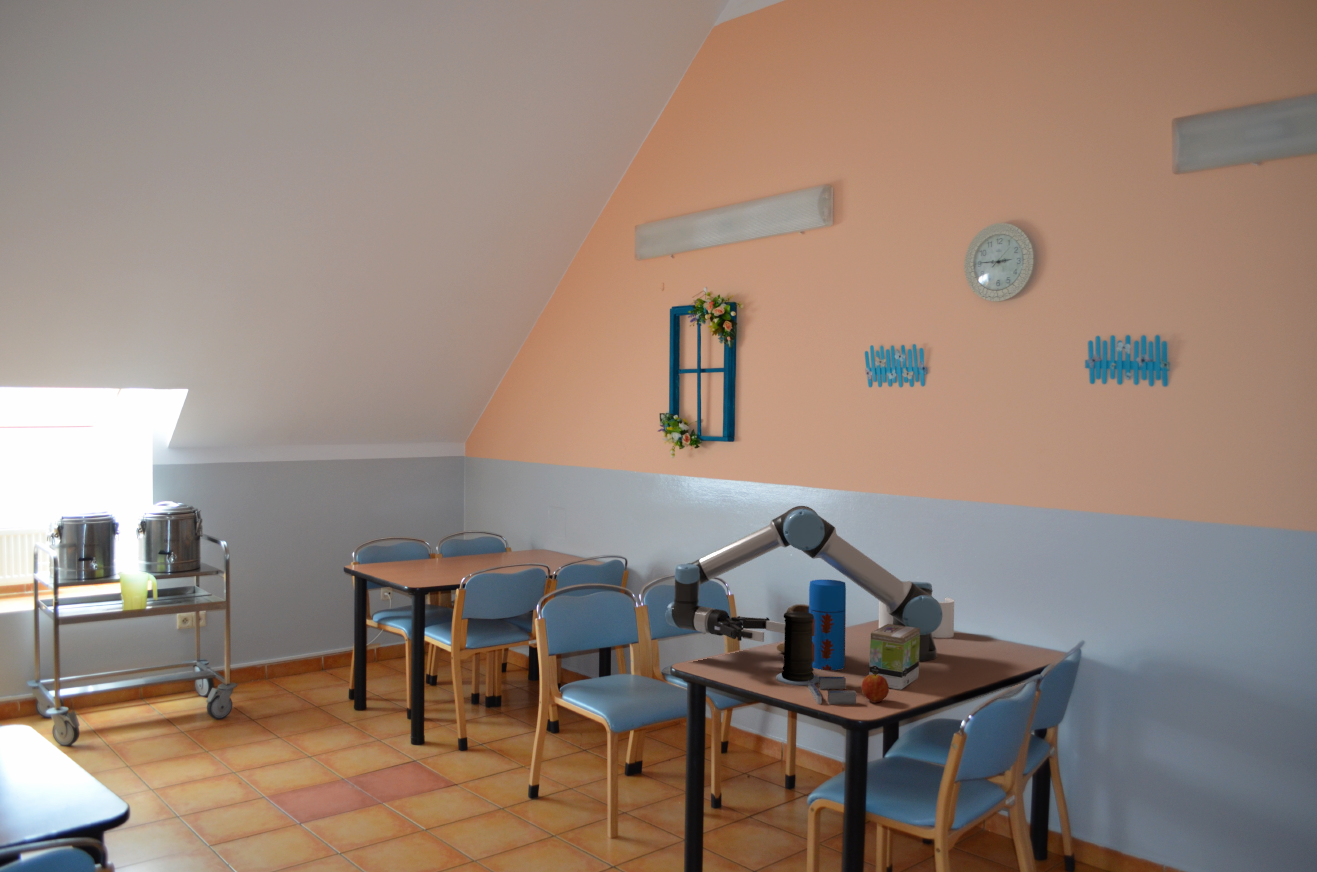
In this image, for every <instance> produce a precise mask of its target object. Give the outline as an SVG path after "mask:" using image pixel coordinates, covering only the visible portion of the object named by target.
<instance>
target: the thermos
mask: <svg viewBox="0 0 1317 872" xmlns="http://www.w3.org/2000/svg"><path fill="white" fill-rule="evenodd" d="M808 588H809V589H808V605H809V613H811V614H813V616H814V619H813V620H812V621H813V623H812V629H813V631H812V658H813V660H812V667H813V669H816V670H820V669H821V671H839V670H838V669H840V670H843V669H844V668H845V661H846V618H847V617H846V611H847V610H846V607H847V606H846V605H847V602H846V601H847V592H846V591H847V586H846V582H845V581H842V580H836V579H813V580H810V582H809V587H808ZM842 668H843V669H842Z"/></svg>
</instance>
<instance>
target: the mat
mask: <svg viewBox="0 0 1317 872" xmlns="http://www.w3.org/2000/svg"><path fill="white" fill-rule="evenodd" d="M813 674H814V673H813ZM776 680H777V682H779V683H783V684H785V685H790V686H803V687H805V686H808V681H790V680H786V679H784V678H783V677H782V672H780V673H778V674H777V675H776ZM812 681H813V683H814V685H816V684H819V676H818V675H816V674H814V677H813V679H812Z"/></svg>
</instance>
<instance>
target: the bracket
mask: <svg viewBox="0 0 1317 872" xmlns="http://www.w3.org/2000/svg"><path fill="white" fill-rule="evenodd" d="M944 599H945V601H938V602H939V604H940V606H941V609H942V615H943V616H942V621H941V624H940V625H939V627H938V628H937V629H936V630H935V631H934V632H932V636H933V638H934V637H936V639H949V638H953V637H954V636H955V634H954V630H955V600H954V599H952V598H950V597H945V598H944ZM887 624H893V616H892V615H890V614H889V613H888V612H887V609H886V605H885V604H884V603H882V602H881V601H879V600H878V629H879V628H881V627H883V626H885V625H887Z"/></svg>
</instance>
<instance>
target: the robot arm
mask: <svg viewBox="0 0 1317 872" xmlns="http://www.w3.org/2000/svg"><path fill="white" fill-rule="evenodd" d="M836 529H837V528H836V526H834V525H833V524H831V523H830V522H829V521H827V520H826V519H824V518H823V517H822V516H820V515H819V514H818V513H817V512H816V511H815V510H814V509H813V508H811V507H809V506H807V505H806V506H805V505H797V506H794V507H792V508H790V509H788V510H787V511H786V512H784V513H782V514H780V515H779V516H777V517H775V518H773V519H771V521H770V523H769V524H768V525H766V526H764V527H761V528H760V529H758V530H755V531H754V532H752V533H750V534H748V535H746V536H744V537H742V538H739V539H738V540H735V541H733V542H731V543H729V544H727V545H725V546H723V547H721V548H719V549H717V550H715V551H713V552H711V553H708V554H707V555H705V556H703V557H701V558H699V559H696V560H694V561H692V562H689V563H681V564H677V565H676V566H675V571H674V598H673V601H671V602H670V603H668V605H667V607H666V611H665V613H664V616H665V621H666V623H667V624H668V625H669V626H672V627H674V628H678V629H685V630H688V631H695V632H700V633H702V635H706V634H710V635H713V636H714V635H715V636H719V637H721V636H726V637H728V638H730V639H732V640H737V641H739V642H741V641H742V639H745V640H748V641H749V640H750V641H755V642H761V643H763V642H765V631H770V632H775V633H781V634H785V630H784V628H785V622H784V623H783V622H779V621H772V620H770V618H769V617H765V618H763V617H762V618H761V617H759V618H758V617H746V616H741V615H740V616H739V615H738V616H731V617H730V615H729V613H728V612H727V611H726V610H722V609H719V608H713V607H706V606H701V605H699V601H700V599H699V597H700V586H701V585H703V584H705V583H707V582H709V581H711V580H713V579H716V578H717V577H719V576H721V575H723V574H725V573H727V572H729V571H731V570H734V569H735V568H738V567H740V566H742V565H745V564H746V563H748V562H750V561H752V560H755V559H757V558H759V557H761V556H763V555H765V554H767V553H769V552H772V551H774V550H776V549H778V548H781V547H782V548H787V547H789V546H792V547H793V548H794V549H797V550H799V551H801V552H802V553H804V554H806V555H807V556H809V557H810V558H811V559H813V560H814V559H821V560H823V561H824V562H826V563H827V564H828V565H830V566H831V567H832V568H834V569H835V570H836V571H838V572H839V573H840V574H842V575H843V576H844V577H847V579H849V580H850V581H852V582H853V583H854V584H856V585H857V586H858V587H860V588H861V589H863V590H864V591H866V592H867V593H868V594H869V595H871V596H873V597H874V598H875V599H877V600H878V602H879V601H881V602H882V603H884V604H885V605H886V609H887V612H888V613H889V614H890V615H892V616H893V625H900V626H907V627H914V628H920V649H919V662H923V661H924V662H925V661H926V662H927V661H931V660H934V659H936V658H937V653H938V651H937V646H936V643H935V639H934V637H933V636H932V632H934V631H935V630H936V629H937V628H938V627H939V625H940V624H941V621H942V616H943V615H942V609H941V606H940V604H939V602H940V601H938V600H937V599H935V598H934V597H933V595H932V594H933V591H934V590H933V586H932V584H931V583H930V582H924V581H912V580H911V581H910V580H908V581H903V580H900V579H899V578H898V577H896V576H895V575H894V574H892V573H891V572H890V571H888V570H887V569H885V568H884V567H882V566H881V565H880V564H878V563H877V562H876V561H874V560H873V559H871V558H870V557H868V556H867V555H865V554H864V553H863V552H861V551H860V550H859V549H858V548H856V547H854V545H852V544H850V543H849V542H848V541H846V540H845V539H843V537H841V536H839V535H838V533H837V530H836ZM758 629H759V630H758ZM760 630H761V631H760ZM762 630H765V631H762Z"/></svg>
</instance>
